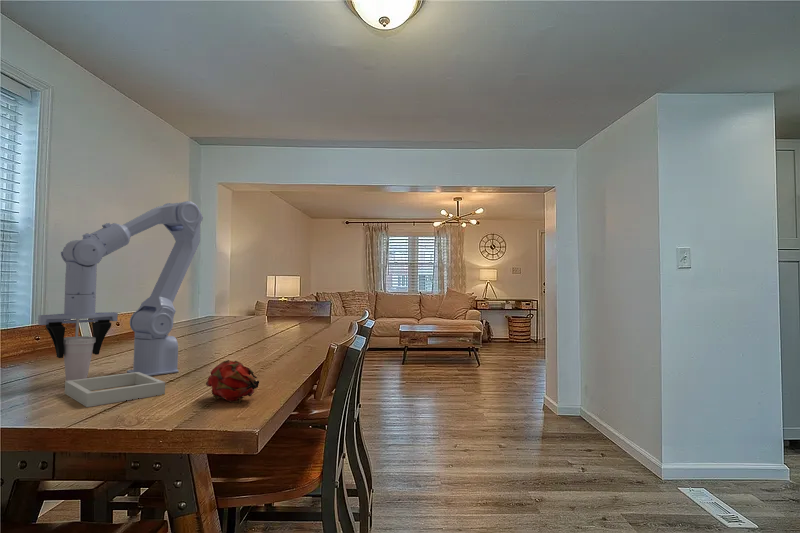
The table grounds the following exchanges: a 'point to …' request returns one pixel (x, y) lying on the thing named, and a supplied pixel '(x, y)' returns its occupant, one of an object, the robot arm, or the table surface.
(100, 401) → the white shallow square frame
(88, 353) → the smoothie
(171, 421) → the table surface
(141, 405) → the table surface
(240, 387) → the dragon fruit
